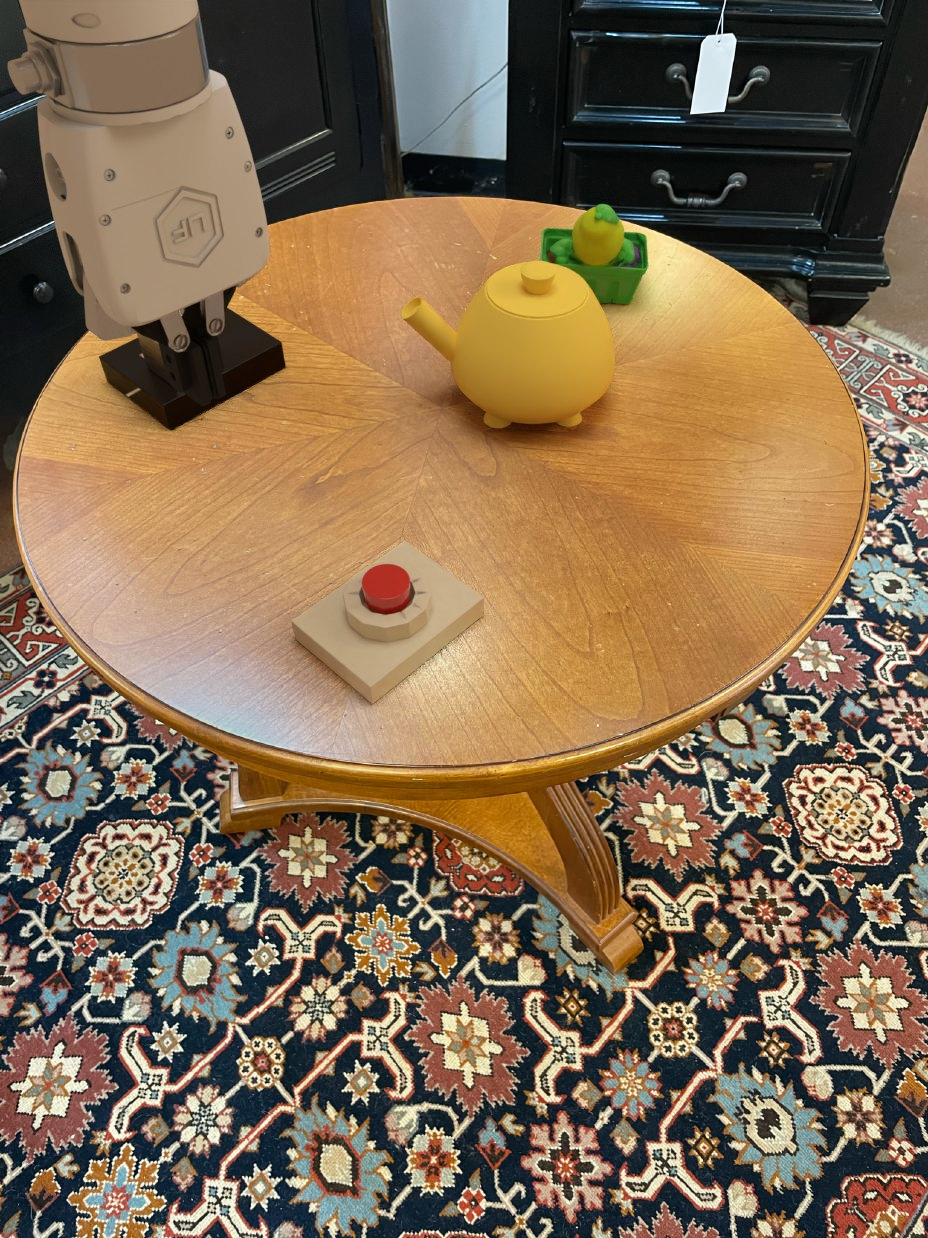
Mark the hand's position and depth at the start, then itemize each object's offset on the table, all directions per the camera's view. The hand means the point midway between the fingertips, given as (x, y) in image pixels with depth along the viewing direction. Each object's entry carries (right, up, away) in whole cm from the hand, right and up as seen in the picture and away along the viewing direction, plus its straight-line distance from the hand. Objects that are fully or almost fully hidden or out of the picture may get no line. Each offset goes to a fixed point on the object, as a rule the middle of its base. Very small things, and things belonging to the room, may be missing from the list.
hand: (200, 390), depth 58 cm
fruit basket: (+30, +22, +48) cm, 61 cm away
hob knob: (-12, +9, +33) cm, 37 cm away
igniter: (+10, -14, +17) cm, 25 cm away
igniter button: (+10, -12, +15) cm, 21 cm away
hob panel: (-11, +11, +38) cm, 41 cm away
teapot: (+20, +8, +36) cm, 42 cm away
